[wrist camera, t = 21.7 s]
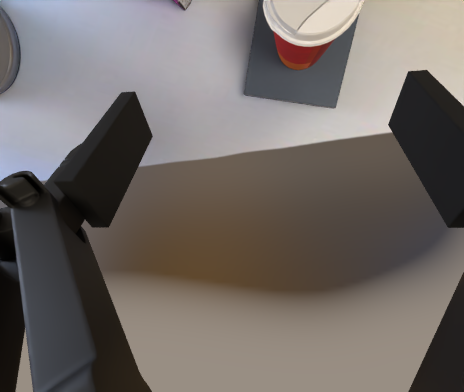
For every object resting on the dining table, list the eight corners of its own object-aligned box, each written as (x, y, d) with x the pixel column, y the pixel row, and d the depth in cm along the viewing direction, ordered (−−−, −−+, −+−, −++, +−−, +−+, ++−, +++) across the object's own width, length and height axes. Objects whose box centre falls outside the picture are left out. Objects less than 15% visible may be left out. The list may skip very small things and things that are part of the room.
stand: (246, 97, 38) (243, 93, 35) (263, -7, 34) (262, -20, 31) (331, 109, 36) (335, 107, 33) (357, 3, 33) (365, -10, 30)
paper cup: (323, -1, 31) (358, -107, 17) (340, 65, 32) (385, 13, 19) (260, 28, 33) (247, -48, 19) (278, 89, 34) (278, 58, 20)
